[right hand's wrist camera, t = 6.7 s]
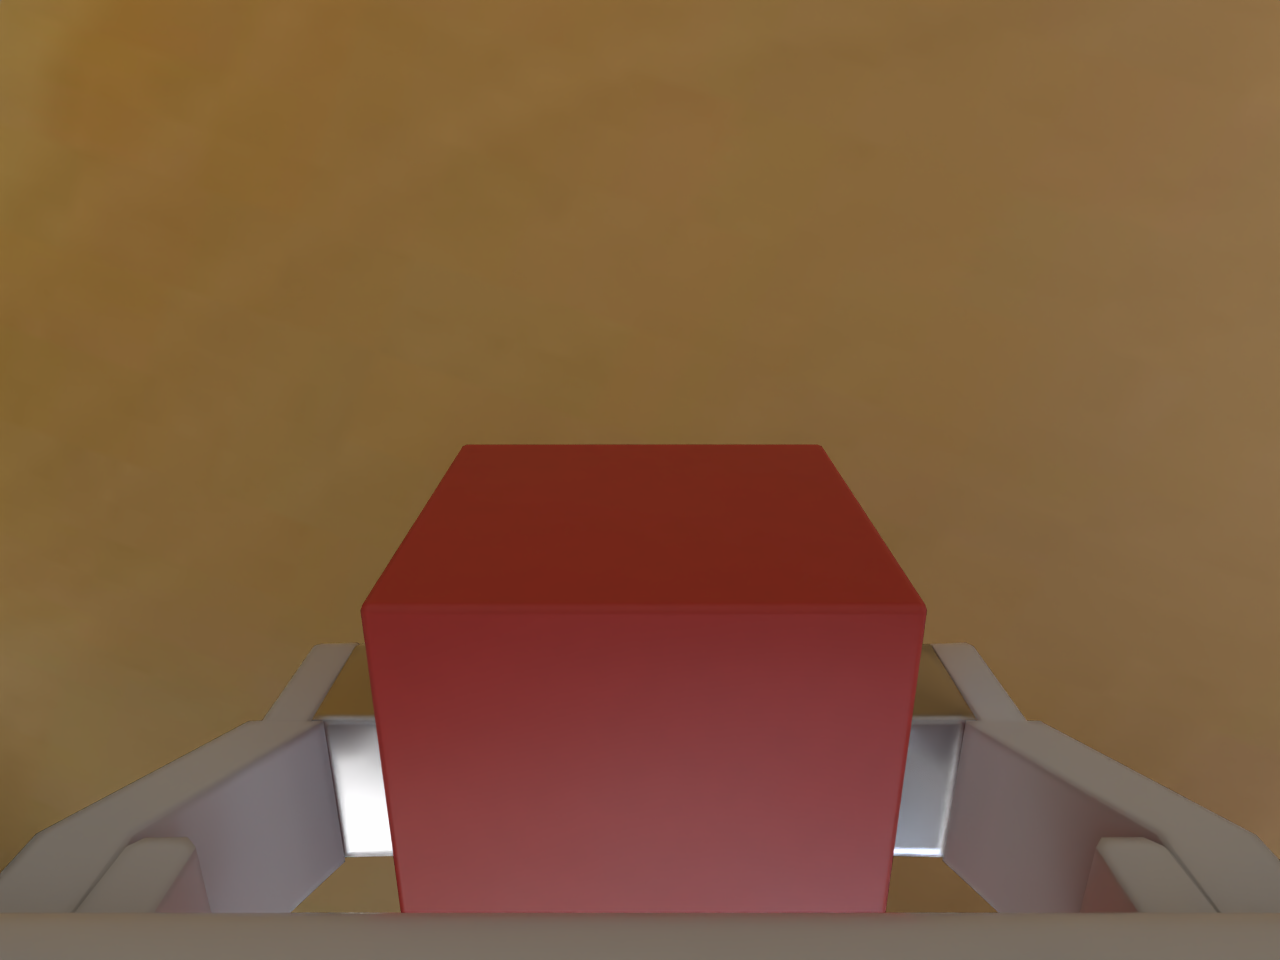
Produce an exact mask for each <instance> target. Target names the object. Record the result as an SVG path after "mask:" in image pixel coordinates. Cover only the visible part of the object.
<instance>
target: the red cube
mask: <svg viewBox="0 0 1280 960" xmlns="http://www.w3.org/2000/svg"><path fill="white" fill-rule="evenodd" d="M926 613H927V609H926V606H925V604H924V602H923V601H922V599H921V598H920V596H919V594H918V593H917V591H916V590H915V588H914V587H913V585H912V584H911V582H910V581H909V579H908V578H907V576H906V575H905V573H904V572H903V570H902V568H901V567H900V565H899V564H898V562H897V561H896V559H895V558H894V556H893V555H892V553H891V552H890V550H889V549H888V547H887V546H886V544H885V542H884V541H883V539H882V538H881V536H880V535H879V533H878V532H877V530H876V529H875V527H874V526H873V524H872V523H871V521H870V520H869V518H868V516H867V515H866V513H865V512H864V510H863V509H862V507H861V506H860V504H859V503H858V501H857V500H856V498H855V497H854V495H853V494H852V492H851V490H850V489H849V487H848V486H847V484H846V483H845V481H844V480H843V478H842V477H841V475H840V474H839V472H838V471H837V469H836V468H835V466H834V464H833V463H832V461H831V460H830V458H829V457H828V455H827V454H826V452H825V451H824V449H823V448H822V446H820V445H465V446H463V447H462V449H461V450H460V452H459V453H458V455H457V456H456V458H455V460H454V461H453V463H452V464H451V466H450V467H449V469H448V471H447V472H446V474H445V475H444V477H443V478H442V480H441V482H440V483H439V485H438V486H437V488H436V490H435V491H434V493H433V494H432V496H431V497H430V499H429V501H428V502H427V504H426V505H425V507H424V508H423V510H422V512H421V513H420V515H419V516H418V518H417V519H416V521H415V523H414V524H413V526H412V527H411V529H410V530H409V532H408V534H407V535H406V537H405V538H404V540H403V542H402V543H401V545H400V546H399V548H398V549H397V551H396V553H395V554H394V556H393V557H392V559H391V560H390V562H389V564H388V565H387V567H386V568H385V570H384V571H383V573H382V575H381V576H380V578H379V579H378V581H377V582H376V584H375V586H374V587H373V589H372V590H371V592H370V594H369V595H368V597H367V598H366V600H365V601H364V603H363V605H362V608H361V618H362V625H363V633H364V640H365V648H366V655H367V663H368V670H369V678H370V685H371V692H372V700H373V707H374V715H375V722H376V730H377V737H378V745H379V752H380V760H381V767H382V775H383V782H384V790H385V797H386V805H387V812H388V820H389V827H390V835H391V842H392V850H393V857H394V865H395V872H396V879H397V887H398V894H399V902H400V909H401V913H886V905H887V898H888V891H889V883H890V876H891V869H892V861H893V854H894V847H895V840H896V832H897V825H898V818H899V810H900V803H901V796H902V788H903V781H904V774H905V767H906V759H907V752H908V745H909V737H910V730H911V723H912V716H913V708H914V701H915V694H916V686H917V679H918V672H919V664H920V657H921V650H922V643H923V635H924V628H925V621H926Z"/></svg>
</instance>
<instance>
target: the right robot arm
mask: <svg viewBox="0 0 1280 960" xmlns="http://www.w3.org/2000/svg"><path fill="white" fill-rule="evenodd" d="M370 856H393V850H392V842H391V835H390V827H389V820H388V812H387V805H386V797H385V790H384V782H383V775H382V767H381V760H380V752H379V745H378V737H377V730H376V722H375V715H374V707H373V700H372V692H371V685H370V678H369V670H368V663H367V655H366V648H365V643H362V644H359V643H321V644H318V645H315V646H314V647H313V648H312V649H311V650H310V652H309V653H308V655H307V656H306V658H305V659H304V660H303V662H302V663H301V665H300V666H299V668H298V669H297V671H296V672H295V673H294V675H293V676H292V678H291V679H290V681H289V682H288V684H287V685H286V686H285V688H284V689H283V691H282V692H281V694H280V695H279V697H278V698H277V699H276V701H275V702H274V704H273V705H272V707H271V708H270V710H269V711H268V712H267V714H266V715H265V717H264V718H263V720H262V721H248V722H246V723H244V724H242V725H240V726H238V727H236V728H234V729H233V730H231V731H229V732H227V733H225V734H223V735H221V736H219V737H218V738H216V739H214V740H212V741H210V742H208V743H206V744H204V745H202V746H201V747H199V748H197V749H195V750H193V751H191V752H189V753H187V754H185V755H184V756H182V757H180V758H178V759H176V760H174V761H172V762H170V763H169V764H167V765H165V766H163V767H161V768H159V769H157V770H155V771H153V772H152V773H150V774H148V775H146V776H144V777H142V778H140V779H138V780H137V781H135V782H133V783H131V784H129V785H127V786H125V787H123V788H121V789H120V790H118V791H116V792H114V793H112V794H110V795H108V796H106V797H104V798H103V799H101V800H99V801H97V802H95V803H93V804H91V805H89V806H88V807H86V808H84V809H82V810H80V811H78V812H76V813H74V814H72V815H71V816H69V817H67V818H65V819H63V820H61V821H59V822H57V823H55V824H54V825H52V826H50V827H48V828H46V829H44V830H42V831H40V832H39V833H37V834H36V835H35V836H34V837H33V838H32V839H31V840H30V841H29V842H28V843H27V844H26V845H25V847H24V848H23V849H22V850H21V851H20V852H19V853H18V854H17V855H16V856H15V857H14V859H13V860H12V861H11V862H10V863H9V864H8V865H7V866H6V867H5V868H4V870H3V871H2V872H1V873H0V960H1280V860H1279V859H1278V858H1277V857H1276V856H1275V855H1274V854H1273V853H1272V852H1271V850H1270V849H1269V848H1268V847H1267V846H1266V845H1265V844H1264V843H1263V842H1262V841H1261V840H1260V839H1259V837H1258V836H1257V835H1255V834H1253V833H1252V832H1250V831H1248V830H1246V829H1244V828H1242V827H1240V826H1238V825H1236V824H1234V823H1233V822H1231V821H1229V820H1227V819H1225V818H1223V817H1221V816H1219V815H1217V814H1215V813H1214V812H1212V811H1210V810H1208V809H1206V808H1204V807H1202V806H1200V805H1198V804H1197V803H1195V802H1193V801H1191V800H1189V799H1187V798H1185V797H1183V796H1181V795H1179V794H1178V793H1176V792H1174V791H1172V790H1170V789H1168V788H1166V787H1164V786H1162V785H1160V784H1159V783H1157V782H1155V781H1153V780H1151V779H1149V778H1147V777H1145V776H1143V775H1142V774H1140V773H1138V772H1136V771H1134V770H1132V769H1130V768H1128V767H1126V766H1124V765H1123V764H1121V763H1119V762H1117V761H1115V760H1113V759H1111V758H1109V757H1107V756H1106V755H1104V754H1102V753H1100V752H1098V751H1096V750H1094V749H1092V748H1090V747H1088V746H1087V745H1085V744H1083V743H1081V742H1079V741H1077V740H1075V739H1073V738H1071V737H1069V736H1068V735H1066V734H1064V733H1062V732H1060V731H1058V730H1056V729H1054V728H1052V727H1051V726H1049V725H1047V724H1045V723H1043V722H1041V721H1027V720H1026V719H1025V717H1024V716H1023V715H1022V713H1021V712H1020V710H1019V709H1018V708H1017V706H1016V705H1015V703H1014V702H1013V701H1012V699H1011V698H1010V696H1009V695H1008V694H1007V692H1006V691H1005V689H1004V688H1003V687H1002V685H1001V684H1000V682H999V681H998V680H997V678H996V677H995V675H994V674H993V673H992V671H991V670H990V668H989V667H988V666H987V664H986V663H985V661H984V660H983V659H982V657H981V656H980V655H979V653H978V652H977V650H976V649H975V648H974V646H972V645H970V644H968V643H966V642H964V643H939V644H922V650H921V657H920V664H919V672H918V679H917V686H916V694H915V701H914V708H913V716H912V723H911V730H910V737H909V745H908V752H907V759H906V767H905V774H904V781H903V788H902V796H901V803H900V810H899V818H898V825H897V832H896V840H895V847H894V854H893V856H917V857H943V861H944V862H945V863H946V864H947V865H948V866H949V867H950V868H951V869H952V870H953V871H954V872H955V873H957V874H958V875H959V876H960V877H961V878H962V879H963V880H964V881H965V882H966V883H967V884H968V885H969V886H971V887H972V888H973V889H974V890H975V891H976V892H977V893H978V894H979V895H980V896H981V897H982V898H983V899H985V900H986V901H987V902H988V903H989V904H990V905H991V906H992V907H993V908H994V909H995V910H996V911H997V912H999V913H290V912H291V911H293V910H294V909H295V908H296V907H297V906H298V905H299V904H300V903H301V902H302V901H303V900H304V899H305V898H306V897H308V896H309V895H310V894H311V893H312V892H313V891H314V890H315V889H316V888H317V887H318V886H319V885H320V884H321V883H323V882H324V881H325V880H326V879H327V878H328V877H329V876H330V875H331V874H332V873H333V872H334V871H335V870H336V869H338V868H339V867H340V866H341V865H342V864H343V863H344V862H345V857H370Z"/></svg>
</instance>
